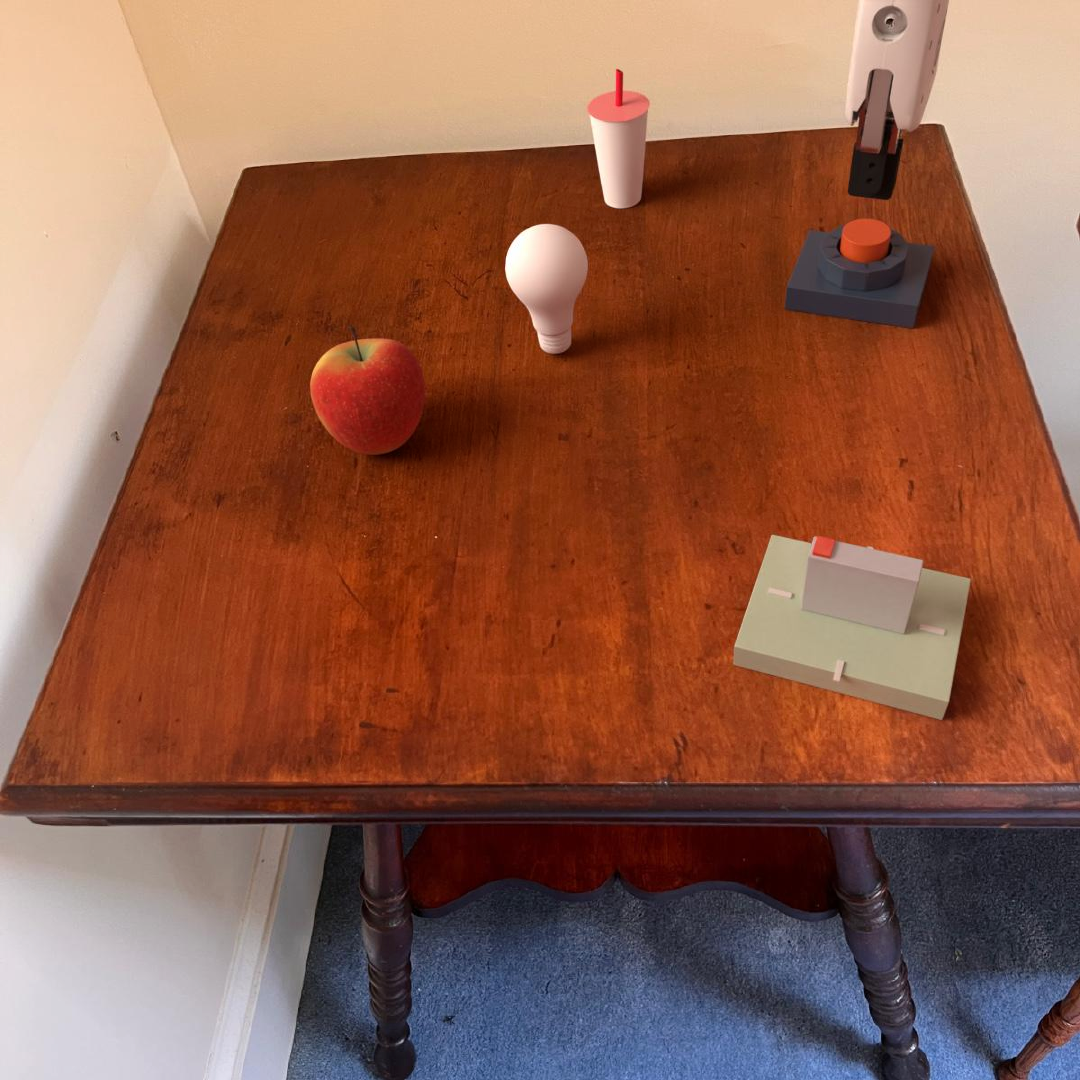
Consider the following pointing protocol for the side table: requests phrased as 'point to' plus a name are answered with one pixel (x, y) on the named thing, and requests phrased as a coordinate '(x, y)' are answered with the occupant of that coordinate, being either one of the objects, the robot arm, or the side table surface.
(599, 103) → the cup
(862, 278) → the button block
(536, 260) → the lightbulb
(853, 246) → the button
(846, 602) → the tap handle
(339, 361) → the apple
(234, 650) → the side table surface
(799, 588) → the panel
